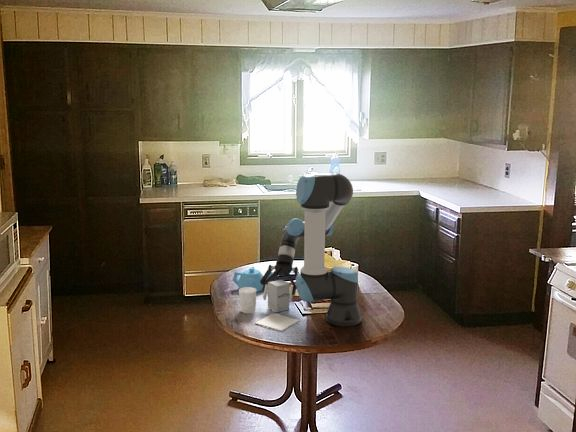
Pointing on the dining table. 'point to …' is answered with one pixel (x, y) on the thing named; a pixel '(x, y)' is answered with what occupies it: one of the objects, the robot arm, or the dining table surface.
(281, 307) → the supplement box
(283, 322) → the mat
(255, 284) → the teapot
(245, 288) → the white cup
